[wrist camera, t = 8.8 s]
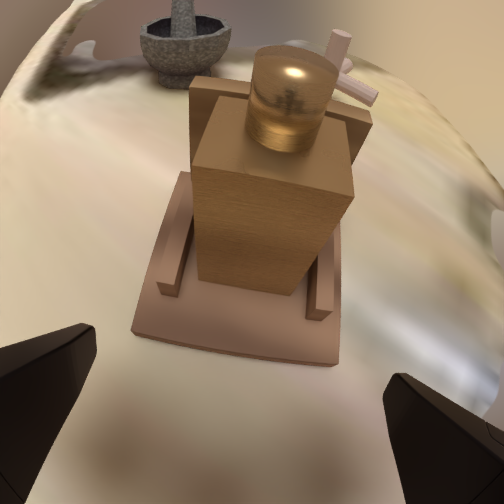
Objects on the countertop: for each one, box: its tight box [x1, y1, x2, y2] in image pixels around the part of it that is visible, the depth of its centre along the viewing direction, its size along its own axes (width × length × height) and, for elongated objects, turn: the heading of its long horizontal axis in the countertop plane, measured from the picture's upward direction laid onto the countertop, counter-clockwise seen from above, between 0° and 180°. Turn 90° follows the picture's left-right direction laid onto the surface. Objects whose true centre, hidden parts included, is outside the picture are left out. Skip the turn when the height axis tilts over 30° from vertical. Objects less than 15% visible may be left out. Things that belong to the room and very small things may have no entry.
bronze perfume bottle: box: [191, 45, 354, 296], centre depth 14 cm, size 4×6×12 cm
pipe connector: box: [324, 29, 379, 107], centre depth 25 cm, size 10×10×10 cm
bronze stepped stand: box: [131, 76, 373, 367], centre depth 16 cm, size 12×12×10 cm
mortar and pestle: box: [140, 0, 231, 89], centre depth 26 cm, size 11×9×12 cm
